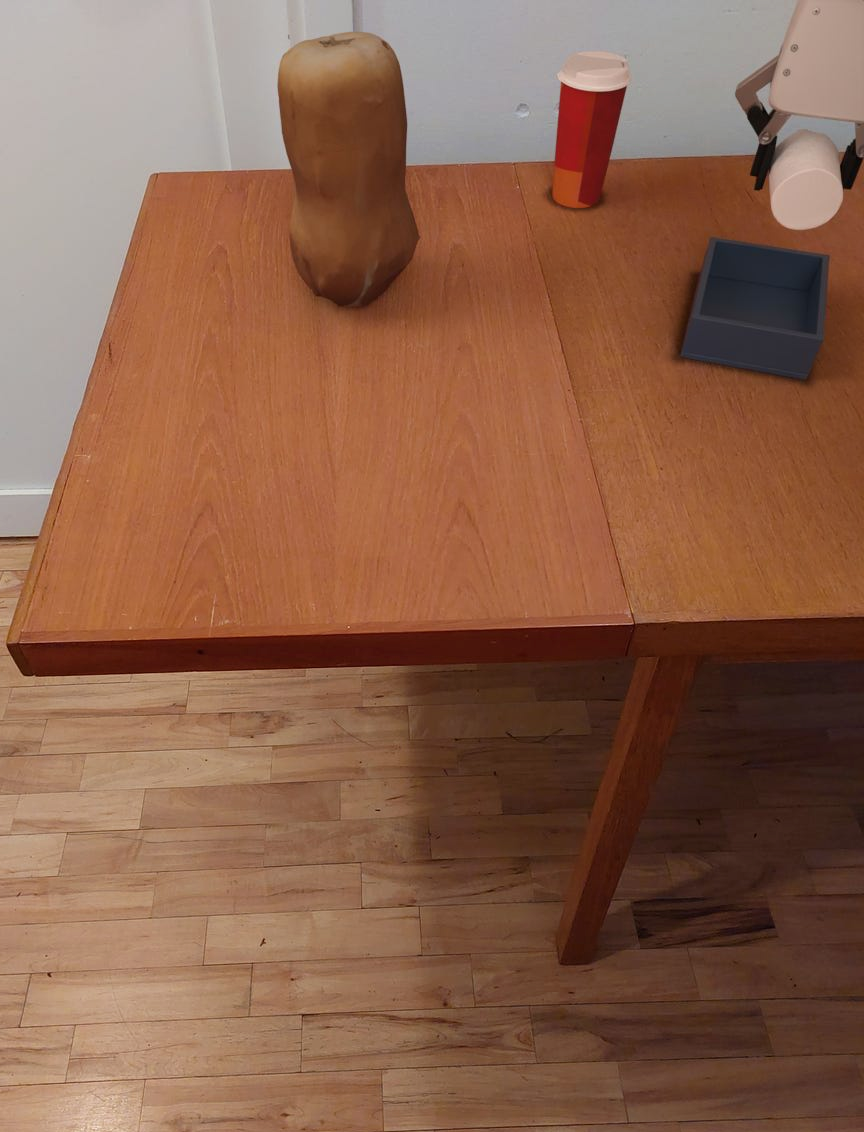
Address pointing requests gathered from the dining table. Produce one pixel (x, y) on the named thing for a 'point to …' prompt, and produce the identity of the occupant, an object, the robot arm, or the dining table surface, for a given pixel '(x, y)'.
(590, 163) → the coffee cup
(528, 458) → the dining table surface
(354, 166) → the butternut squash
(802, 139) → the roll
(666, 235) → the dining table surface
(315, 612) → the dining table surface
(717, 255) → the tote
